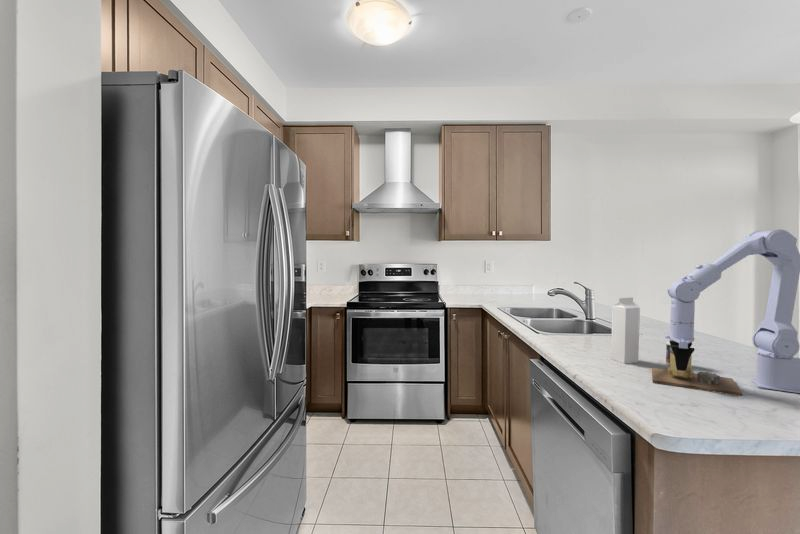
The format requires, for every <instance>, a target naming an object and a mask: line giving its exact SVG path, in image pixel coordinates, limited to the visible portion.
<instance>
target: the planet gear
mask: <svg viewBox="0 0 800 534" xmlns="http://www.w3.org/2000/svg"><path fill="white" fill-rule="evenodd" d="M692 360H693V359H692V355H691V356H690V359H689V362H688V366H687V369H686V371H682V370H677V368H676V362H675V356H674V353H673V352H670V365H669V367H667V369H666V370H667V372H668V374H673V375H674V376H682V377H686V378H688V377H693V374H694V371H693V370H692Z"/></svg>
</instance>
